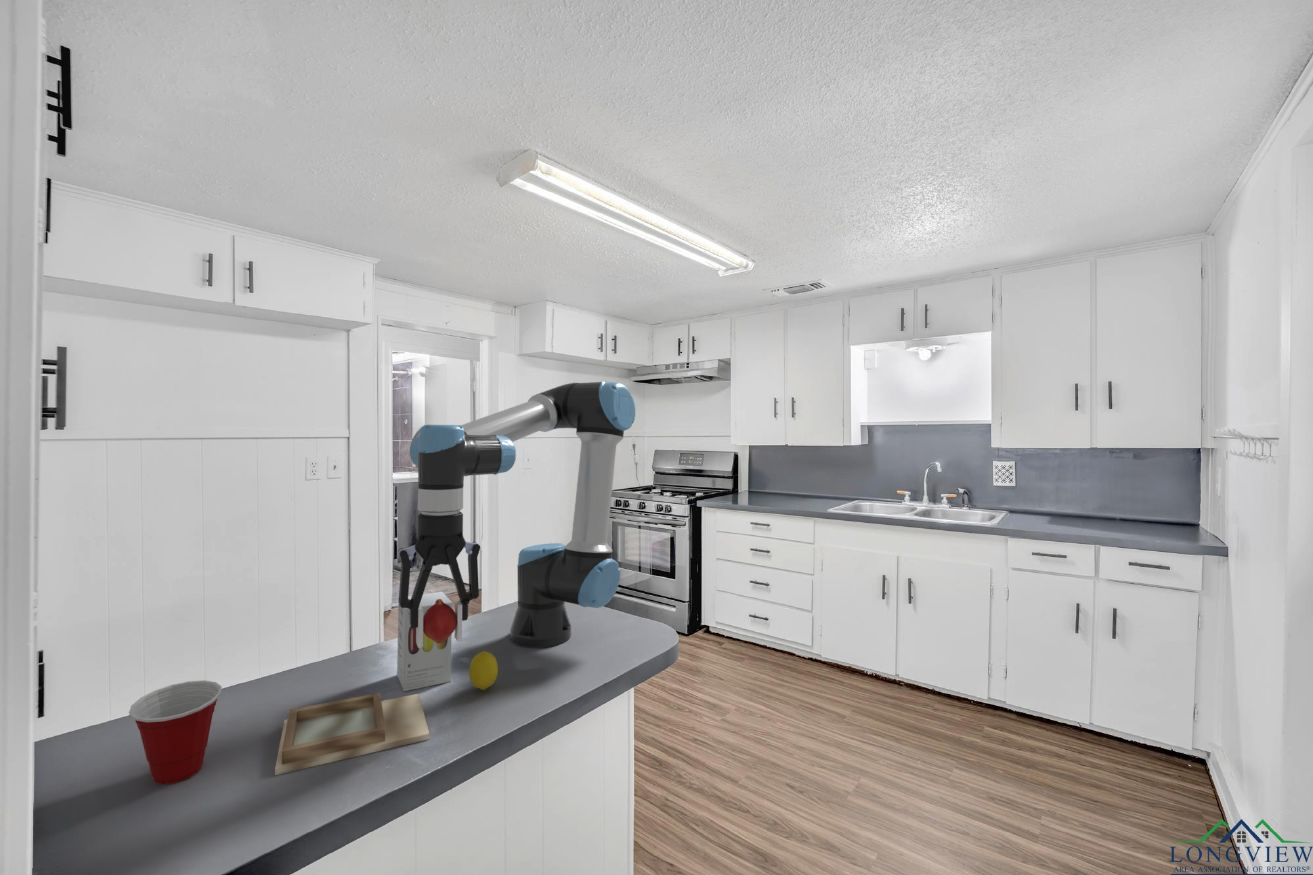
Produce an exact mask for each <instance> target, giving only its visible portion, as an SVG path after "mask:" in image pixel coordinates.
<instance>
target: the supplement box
mask: <svg viewBox="0 0 1313 875" xmlns="http://www.w3.org/2000/svg"><path fill="white" fill-rule="evenodd" d="M411 597H412V595H408V599H411ZM437 599H442V601H443V603H445V604H447V605H448V606H450V607H451V608H452V609H453V602H452V600H450V598H449V597H448V596H447V595H446V594H445V593H444V592H443V591H438V592H430V593H423V596H422V599H421V602H420V605H419V606H422V608H423V616H424V614H425V613H426V611H427V610H428V609H429V608H430V607H431V606H433V605H434V604H435V602H436V600H437ZM397 603H398V604H397V605H398V607H397V608H398V609H397V610H398V615H397V653H396V654H397V656H396V658H397V659H396V660H397V662H396V663H397V664H396V665H397V666H396V668H397V669H396V676H397V678H398V681H399V683H400V685H401V687H402V688H401V689H402V691H403V692H407V691H413V690H419V689H421V688H426V687H431V686H436V685H441V684H445V683H450V682H451V680H452V674H451V673H452V636H453V633H452V634H451V635H450V636H449V637H448V638H447V639H446V640H445V641H444V642H443V643H440V644H438V643H436V642H435V641H433V640H432V639H430V638H428V637H427V636H426V635H425V634H424V632H423V647H421V648H418V646H417V644H416V628H412V627H411V625H410V609H408V608H401V607H400V604H399V599H398V602H397Z"/></svg>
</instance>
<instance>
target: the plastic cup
mask: <svg viewBox="0 0 1313 875" xmlns="http://www.w3.org/2000/svg"><path fill="white" fill-rule="evenodd" d="M221 694H222V685H220V683H218V682H216V681H211V680H205V679H204V680H188V681H184V682H179V683H174V684H169V685H167V686H164V687H161V688H158V689H155V690H152V692H149V693H148V694H145V695H143V696H142V697H140V698H139V699H137V700H136V701H135V702H134V703H132V704H131V706H130V709H129V711H128V714H129V716H130V717H131V718H132V719H133V720H134V722H135V724H136V727H137V728H138V730H139V733H140V739H141V741H142V746H143V750H144V754H145V758H146V761H147V762H148V767H149V771H150V775H151V776H150V777H151V778H152V779H153V782H154V783H155V784H157V785H172V784H175V783H179V782H180V783H181V782H182V781H185V780H187V779H190V778H191V777H193V776H196V774H198V773H199V772H200V770H201V769H202V767H203V765H204V759H205V754H206V748H207V747H208V742H209V737H210V731H211V726H212V721H213V715H214V712H215V708H216V705H217V701H218V699H219V698H220V697H221Z"/></svg>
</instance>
